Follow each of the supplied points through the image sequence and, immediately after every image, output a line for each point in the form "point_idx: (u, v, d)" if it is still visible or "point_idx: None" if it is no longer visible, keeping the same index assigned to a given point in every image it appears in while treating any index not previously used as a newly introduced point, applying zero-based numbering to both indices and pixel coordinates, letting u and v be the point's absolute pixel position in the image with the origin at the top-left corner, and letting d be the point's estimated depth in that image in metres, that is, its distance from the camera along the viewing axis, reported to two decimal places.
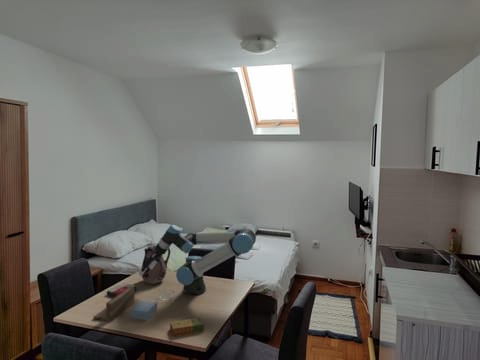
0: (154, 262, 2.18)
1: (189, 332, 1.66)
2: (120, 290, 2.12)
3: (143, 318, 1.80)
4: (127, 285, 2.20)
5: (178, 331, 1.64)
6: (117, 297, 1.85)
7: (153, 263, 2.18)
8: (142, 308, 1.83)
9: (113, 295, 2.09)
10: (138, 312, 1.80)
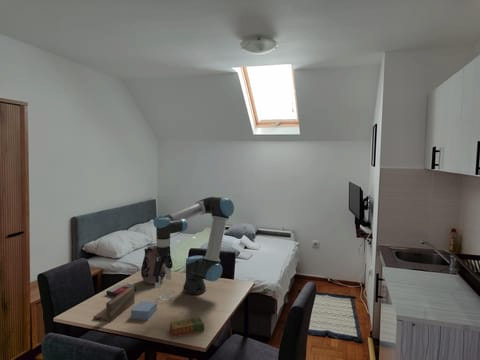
0: (168, 270, 1.89)
1: (189, 332, 1.66)
2: (120, 290, 2.12)
3: (144, 318, 1.80)
4: (127, 285, 2.20)
5: (178, 331, 1.64)
6: (117, 297, 1.85)
7: (168, 272, 1.89)
8: (142, 308, 1.83)
9: (113, 295, 2.09)
10: (139, 312, 1.80)
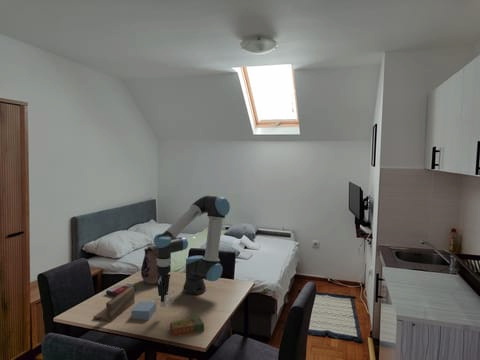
0: None
1: (189, 332, 1.66)
2: (119, 289, 2.12)
3: (144, 318, 1.80)
4: (126, 284, 2.21)
5: (179, 331, 1.64)
6: (117, 297, 1.85)
7: None
8: (143, 308, 1.83)
9: (113, 294, 2.10)
10: (139, 312, 1.80)
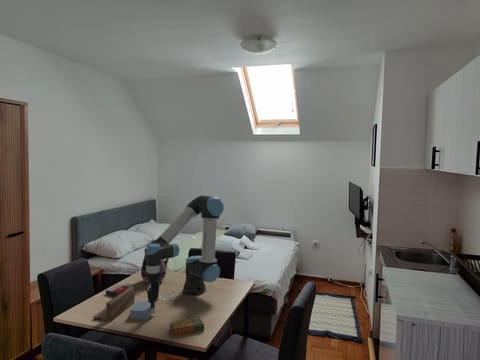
0: None
1: (189, 332, 1.66)
2: (119, 289, 2.13)
3: (143, 317, 1.80)
4: (126, 284, 2.21)
5: (179, 331, 1.64)
6: (117, 297, 1.85)
7: None
8: (141, 308, 1.83)
9: (112, 294, 2.10)
10: (138, 312, 1.80)
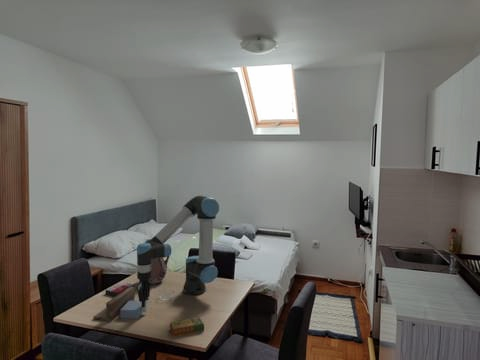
0: None
1: (189, 332, 1.66)
2: (119, 289, 2.13)
3: (133, 317, 1.81)
4: (125, 284, 2.22)
5: (179, 331, 1.64)
6: (117, 297, 1.85)
7: None
8: (132, 308, 1.84)
9: (112, 294, 2.10)
10: (128, 311, 1.81)
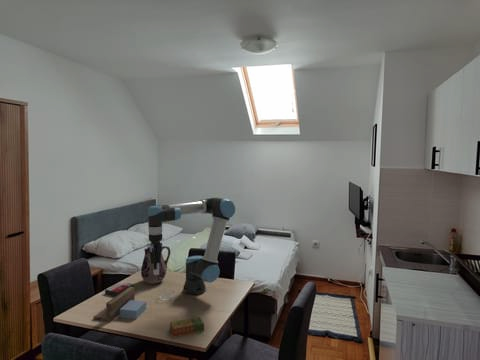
0: None
1: (189, 332, 1.66)
2: (118, 288, 2.14)
3: (132, 317, 1.81)
4: (125, 283, 2.22)
5: (179, 331, 1.64)
6: (117, 297, 1.85)
7: None
8: (131, 307, 1.84)
9: (112, 293, 2.11)
10: (127, 311, 1.81)
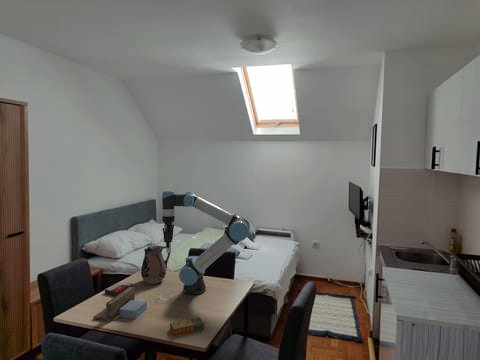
0: None
1: (189, 332, 1.66)
2: (118, 288, 2.14)
3: (131, 317, 1.81)
4: (124, 283, 2.23)
5: (179, 331, 1.64)
6: (117, 297, 1.85)
7: None
8: (131, 308, 1.84)
9: (111, 293, 2.11)
10: (126, 311, 1.81)
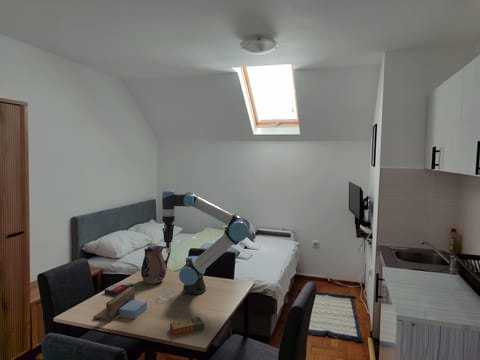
0: None
1: (189, 332, 1.66)
2: (118, 288, 2.15)
3: (131, 317, 1.81)
4: (124, 283, 2.23)
5: (179, 331, 1.64)
6: (117, 297, 1.85)
7: None
8: (130, 308, 1.84)
9: (111, 293, 2.12)
10: (126, 311, 1.81)
